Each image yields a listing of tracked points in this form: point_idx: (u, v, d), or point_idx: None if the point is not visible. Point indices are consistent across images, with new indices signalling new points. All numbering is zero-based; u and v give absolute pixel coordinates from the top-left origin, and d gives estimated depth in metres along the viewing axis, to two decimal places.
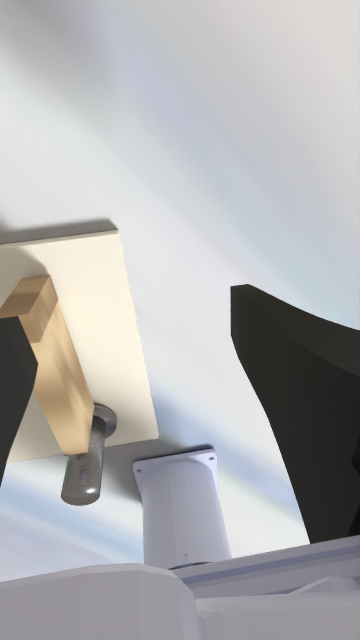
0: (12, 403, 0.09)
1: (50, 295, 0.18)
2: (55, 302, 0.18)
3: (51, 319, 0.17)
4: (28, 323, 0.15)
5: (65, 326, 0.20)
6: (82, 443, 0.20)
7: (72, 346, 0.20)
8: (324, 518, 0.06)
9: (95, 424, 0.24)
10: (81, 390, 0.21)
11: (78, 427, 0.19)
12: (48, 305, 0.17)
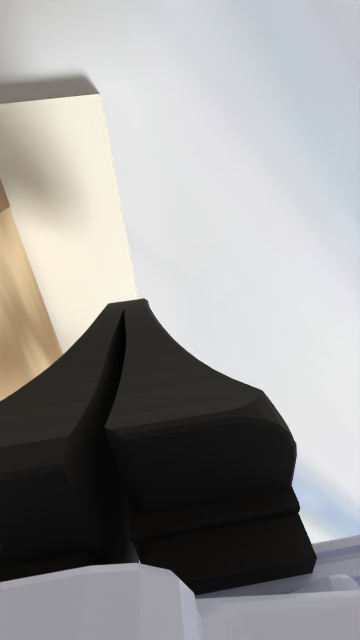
0: None
1: None
2: (2, 206, 0.12)
3: None
4: None
5: (23, 252, 0.13)
6: None
7: (35, 286, 0.14)
8: None
9: None
10: (49, 352, 0.14)
11: None
12: None
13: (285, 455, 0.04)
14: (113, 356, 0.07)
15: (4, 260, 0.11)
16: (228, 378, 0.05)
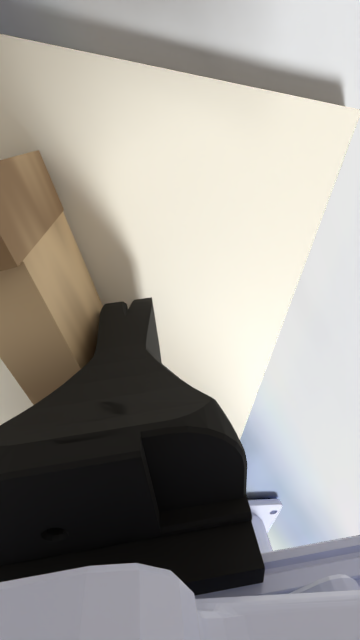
0: None
1: (43, 188, 0.08)
2: (57, 210, 0.09)
3: (50, 236, 0.08)
4: None
5: (84, 269, 0.10)
6: None
7: None
8: None
9: None
10: None
11: None
12: (39, 202, 0.07)
13: (235, 465, 0.04)
14: None
15: (70, 284, 0.08)
16: (185, 385, 0.05)
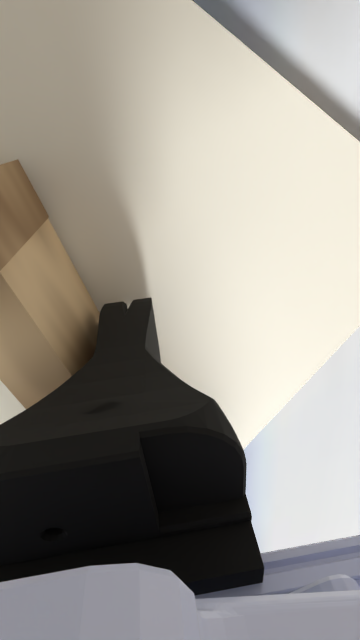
0: None
1: (23, 197, 0.08)
2: (41, 218, 0.09)
3: (32, 244, 0.08)
4: None
5: (75, 274, 0.10)
6: None
7: (97, 313, 0.11)
8: None
9: None
10: None
11: None
12: (18, 212, 0.07)
13: (234, 465, 0.04)
14: None
15: (58, 290, 0.08)
16: (184, 385, 0.05)
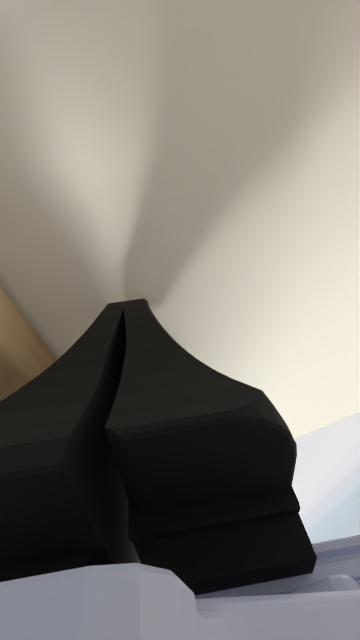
0: None
1: None
2: None
3: None
4: None
5: (0, 294, 0.10)
6: None
7: (30, 331, 0.11)
8: None
9: None
10: None
11: None
12: None
13: (285, 455, 0.04)
14: (113, 356, 0.07)
15: None
16: (228, 378, 0.05)
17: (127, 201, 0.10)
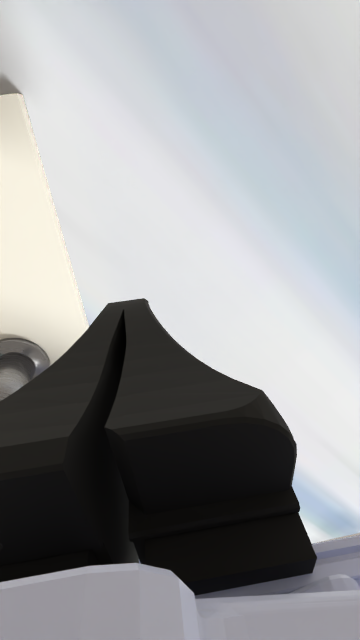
0: None
1: None
2: None
3: None
4: None
5: None
6: None
7: None
8: None
9: (18, 361, 0.20)
10: None
11: None
12: None
13: (286, 456, 0.04)
14: (113, 356, 0.07)
15: None
16: (228, 378, 0.05)
17: None
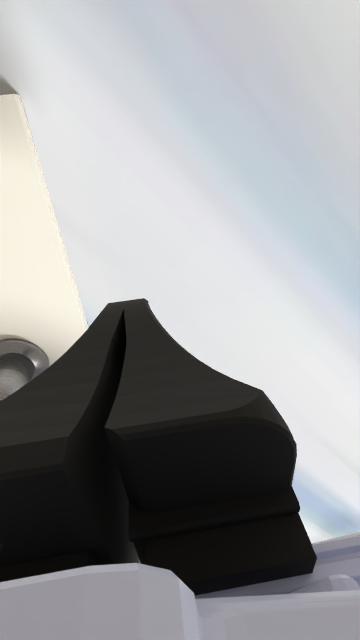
0: None
1: None
2: None
3: None
4: None
5: None
6: None
7: None
8: None
9: (17, 362, 0.20)
10: None
11: None
12: None
13: (286, 455, 0.04)
14: (113, 356, 0.07)
15: None
16: (228, 378, 0.05)
17: None
